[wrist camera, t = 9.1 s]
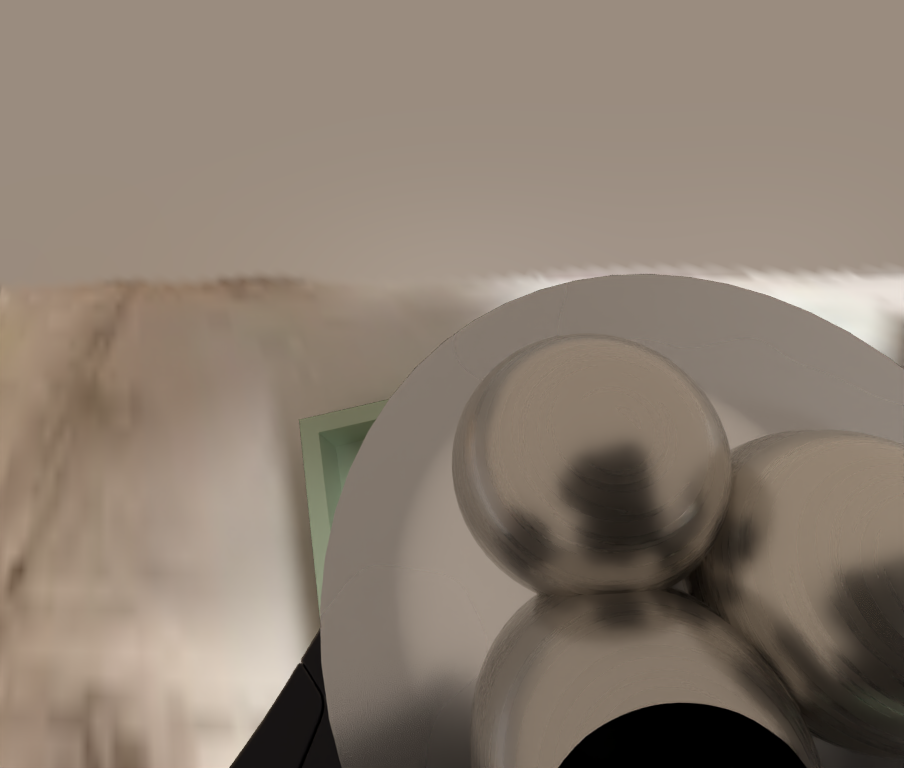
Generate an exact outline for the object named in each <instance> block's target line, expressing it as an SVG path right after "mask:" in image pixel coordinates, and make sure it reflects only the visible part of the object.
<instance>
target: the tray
mask: <svg viewBox="0 0 904 768" xmlns="http://www.w3.org/2000/svg"><path fill="white" fill-rule="evenodd" d="M388 400H389V399H387V400H383V401H379V402H374V403H370V404H366V405H361V406H357V407H353V408H348V409H344V410H340V411H335V412H331V413H326V414H322V415H318V416H313V417H309V418H305V419H300V420H299V425H300V434H301V444H302V453H303V463H304V472H305V482H306V491H307V501H308V510H309V520H310V529H311V538H312V548H313V557H314V567H315V576H316V586H317V595H318V605H319V614H320V604H321V593H322V582H323V572H324V561H325V555H326V550H327V546H328V541H329V537H330V532H331V527H332V523H333V518H334V513H335V510H336V507H337V504H338V501H339V498H340V496H341V493H342V490H343V487H344V484H345V481H346V478H347V475H348V472H349V470H350V467H351V465H352V463H353V461H354V459H355V457H356V455H357V453H358V451H359V449H360V447H361V445H362V443H363V441H364V439H365V437H366V435H367V433H368V431H369V429H370V428H371V426H372V425H373V423H374V422H375V420H376V419H377V417H378V416H379V414H380V413H381V411H382V409H383V408H384V406H385V405H386V403H387V402H388Z"/></svg>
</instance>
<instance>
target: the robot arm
mask: <svg viewBox="0 0 904 768" xmlns="http://www.w3.org/2000/svg"><path fill="white" fill-rule="evenodd" d="M301 662H302V663H299V664H298V665H297V667H296V668H295V670H294V672H293V673H292V675H291V677H290V678H289V680H288V682H287V683H286V685H285V686H284V688H283V690H282V691H281V693H280V694H279V696H278V697H277V699H276V700H275V702H274V704H273V705H272V707H271V708H270V710H269V711H268V713H267V714H266V716H265V718H264V719H263V721H262V722H261V723H260V725H259V726H258V728H257V729H256V731H255V732H254V733H253V735H252V736H251V738H250V739H249V741H248V742H247V743H246V745H245V746H244V748H243V749H242V751H241V752H240V753H239V755H238V756H237V758H236V759H235V761H234V762H233V763H232V765H231V766H230V767H229V768H342V767H341V763H340V759H339V756H338V752H337V748H336V744H335V740H334V736H333V732H332V728H331V724H330V721H329V715H328V708H327V700H326V693H325V686H324V679H323V671H322V664H321V630H320V629H319V631H318V633H317V634H316V636H315V638H314V639H313V641H312V642H311V644H310V646H309V647H308V649H307V651H306V652H305V654H304V656H303V657H302V659H301Z"/></svg>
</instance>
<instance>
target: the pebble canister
mask: <svg viewBox="0 0 904 768" xmlns="http://www.w3.org/2000/svg"><path fill="white" fill-rule="evenodd" d="M320 630H321V664H322V671H323V679H324V686H325V693H326V700H327V708H328V715H329V721H330V724H331V728H332V732H333V736H334V740H335V744H336V748H337V752H338V756H339V759H340V763H341V767H342V768H904V369H903V368H901V367H900V366H899V365H898V364H896V363H895V362H894V361H892V360H891V359H890V358H889V357H887V356H885V355H884V354H882V353H881V352H879V351H878V350H876V349H874V348H873V347H871V346H870V345H868V344H867V343H865V342H864V341H862V340H860V339H859V338H857V337H856V336H854V335H853V334H851V333H849V332H848V331H846V330H844V329H842V328H840V327H838V326H836V325H834V324H832V323H830V322H828V321H826V320H824V319H822V318H820V317H818V316H816V315H814V314H812V313H811V312H808V311H806V310H803V309H801V308H798V307H796V306H793V305H791V304H788V303H786V302H783V301H781V300H778V299H776V298H773V297H771V296H768V295H765V294H761V293H758V292H754V291H751V290H747V289H744V288H740V287H737V286H733V285H730V284H725V283H719V282H714V281H708V280H703V279H697V278H692V277H683V276H670V275H657V274H635V275H610V276H603V277H596V278H589V279H582V280H575V281H572V282H568V283H564V284H560V285H556V286H553V287H549V288H545V289H541V290H538V291H536V292H533V293H531V294H528V295H526V296H523V297H520V298H518V299H515V300H513V301H510V302H508V303H505V304H504V305H502V306H500V307H498V308H496V309H494V310H492V311H491V312H489V313H487V314H485V315H483V316H481V317H479V318H478V319H476V320H474V321H472V322H471V323H470V324H468V325H467V326H465V327H464V328H463V329H461V330H460V331H458V332H457V333H456V334H454V335H453V336H451V337H450V338H449V339H447V340H446V341H444V342H443V343H442V344H441V345H440V346H439V347H438V348H437V349H435V350H434V351H433V352H432V353H431V354H430V355H429V356H428V357H427V358H426V359H425V360H423V361H422V362H421V363H420V364H419V365H418V366H417V367H416V368H415V369H414V370H413V371H412V373H411V374H410V375H409V376H408V377H407V378H406V380H405V381H404V382H403V383H402V384H401V385H400V387H399V388H398V389H397V390H396V391H395V393H394V394H393V395H392V396H391V397H390V399H389V400H388V402H387V403H386V405H385V406H384V408H383V409H382V411H381V413H380V414H379V416H378V417H377V419H376V420H375V422H374V423H373V425H372V426H371V428H370V429H369V431H368V433H367V435H366V437H365V439H364V441H363V443H362V445H361V447H360V449H359V451H358V453H357V455H356V457H355V459H354V461H353V463H352V465H351V467H350V470H349V472H348V475H347V478H346V481H345V484H344V487H343V490H342V493H341V496H340V498H339V501H338V504H337V507H336V510H335V513H334V518H333V523H332V527H331V532H330V537H329V541H328V546H327V550H326V555H325V561H324V572H323V582H322V593H321V604H320Z"/></svg>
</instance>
